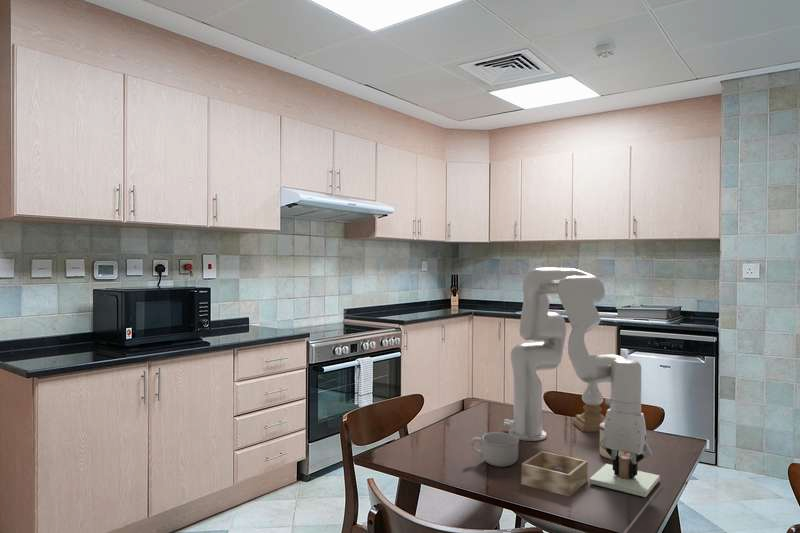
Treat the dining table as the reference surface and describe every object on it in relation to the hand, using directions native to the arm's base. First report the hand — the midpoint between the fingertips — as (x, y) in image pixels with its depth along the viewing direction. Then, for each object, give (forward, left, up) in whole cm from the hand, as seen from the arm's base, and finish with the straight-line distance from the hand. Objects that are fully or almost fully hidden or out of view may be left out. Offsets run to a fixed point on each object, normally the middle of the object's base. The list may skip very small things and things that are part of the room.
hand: (624, 474), depth 148 cm
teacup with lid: (-10, +24, -3) cm, 26 cm away
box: (-15, -11, -3) cm, 19 cm away
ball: (-15, -8, -2) cm, 17 cm away
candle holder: (-25, +48, -3) cm, 54 cm away
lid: (0, 0, -2) cm, 2 cm away
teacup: (-35, -7, -3) cm, 36 cm away
